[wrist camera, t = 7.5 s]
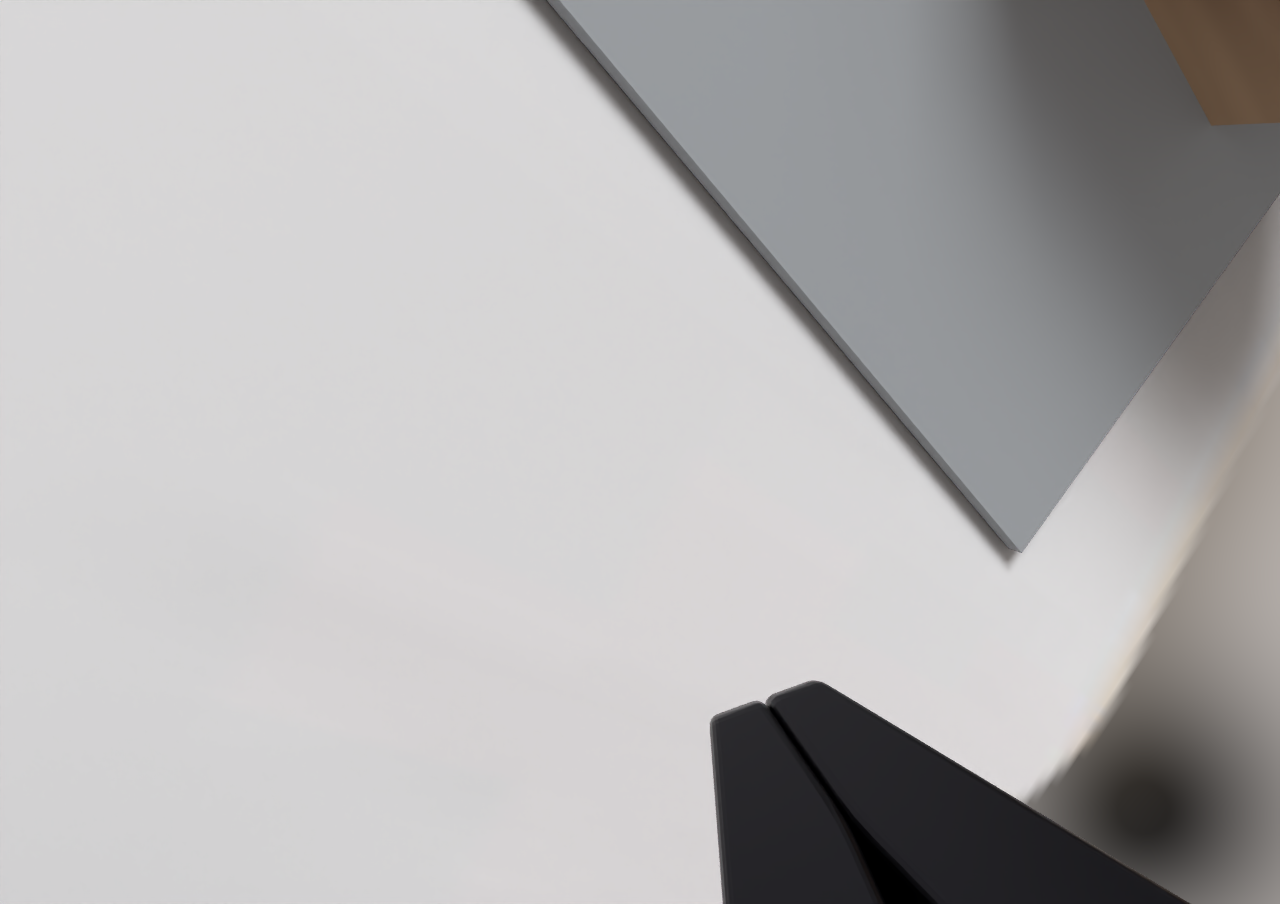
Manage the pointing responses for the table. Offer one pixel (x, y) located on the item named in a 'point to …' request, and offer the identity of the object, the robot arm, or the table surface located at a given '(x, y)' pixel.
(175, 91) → the table surface
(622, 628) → the table surface
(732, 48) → the runner mat
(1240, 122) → the t block
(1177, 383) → the table surface
